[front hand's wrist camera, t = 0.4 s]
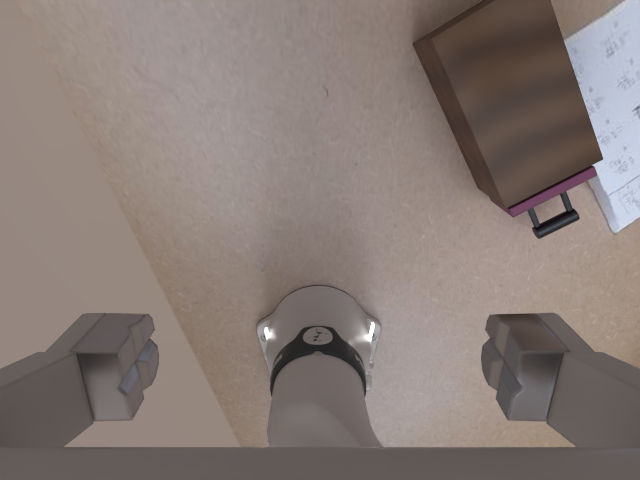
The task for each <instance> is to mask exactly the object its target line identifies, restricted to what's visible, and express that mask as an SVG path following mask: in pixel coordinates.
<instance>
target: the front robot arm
mask: <svg viewBox="0 0 640 480" xmlns="http://www.w3.org/2000/svg"><path fill="white" fill-rule="evenodd" d="M154 330H155V329H154V324H153V319H152V317H151V316H150V315H149V314H120V313H108V314H107V313H87V314H82V315H81V316H80V317H79V318H78V319H77V320H76V321H75V322H74V323H73V324H72V325H71V326H70V327H69V328H68V329H67V330H66V331H65V332H64V333H63V334H62V335H61V336H60V337H59V338H58V339H57V340H56V341H55V342H54V344H52V345H51V346H50V347H49V348H48V350H46V351H45V352H37V353H35V354H33V355H30V356H28V357H26V358H24V359H21V360H19V361H17V362H15V363H12V364H10V365H8V366H6V367H3V368H1V369H0V480H640V369H639V368H637V367H634V366H632V365H630V364H628V363H625V362H623V361H621V360H619V359H616V358H614V357H612V356H610V355H607V354H605V353H603V352H595V351H594V350H593V349H592V348H591V347H590V346H589V345H588V344H587V343H586V342H585V341H584V340H583V339H582V338H581V337H580V336H579V335H578V334H577V333H576V332H575V331H574V330H573V329H572V328H571V327H570V326H569V325H568V324H567V323H566V322H565V321H564V320H563V319H562V318H561V317H560V316H559V315H557V314H555V313H534V314H495V315H489V318H488V320H487V323H486V329H485V330H486V332H487V333H488V335H489V337H490V339H489V340H488V341H487V342H486V343H485V344H484V345H483V347H482V355H481V362H482V370H483V374H484V377H485V379H486V381H487V383H488V385H489V386H491V387H492V388H494V389H495V390H497V395H496V400H497V402H498V403H499V405H500V407H501V409H502V411H503V412H504V414H505V416H506V418H507V420H516V421H547V422H546V423H547V424H548V425H550V426H551V427H552V428H553V429H555V430H556V431H557V432H558V433H560V434H561V435H562V436H564V437H565V438H566V439H567V440H569V441H570V442H571V443H572V444H574V445H575V446H576V447H383V446H382V444H381V443H380V442H379V440H378V439H377V437H376V436H375V434H374V432H373V430H372V427H371V424H370V420H369V416H368V412H367V408H366V402H365V395H366V391H370V389H371V384H372V377H371V376H370V375H368V374H369V372H372V371H373V362H372V360H373V356H374V353H375V349H376V346H377V342H378V339H379V335H380V331H381V325H380V323H379V321H377V320H376V319H375V318H373V317H371V316H370V315H368V314H366V313H365V312H364V311H363V310H362V308H361V307H360V306H359V304H358V303H357V302H356V301H355V300H354V299H353V298H352V297H351V296H349V295H348V294H346V293H345V292H343V291H341V290H338V289H335V288H332V287H327V286H310V287H305V288H302V289H299V290H297V291H295V292H293V293H291V294H289V295H288V296H287V297H285V298H284V299H283V300H282V301H281V302H280V304H279V305H278V306H277V308H276V309H275V311H274V312H273V313H272V314H271V315H269V316H267V317H266V318H264V319H263V320H261V321H260V322H259V323H258V325H257V334H258V337H259V340H260V344H261V347H262V350H263V353H264V359H265V360H266V363H267V366H268V369H269V373H270V382H271V385H270V391H271V396H272V400H271V407H270V414H269V421H268V428H267V437H268V443H269V446H270V447H64V446H65V445H66V444H68V443H69V442H70V441H72V440H73V439H74V438H75V437H77V436H78V435H79V434H80V433H82V432H83V431H84V430H86V429H87V428H88V427H89V426H91V425H92V424H93V421H123V420H133V418H134V416H135V414H136V413H137V411H138V409H139V407H140V405H141V403H142V402H143V400H144V395H143V390H145V389H146V388H148V387H149V386H151V385H152V383H153V381H154V379H155V377H156V373H157V369H158V364H159V354H158V347H157V345H156V344H155V343H154V342H153V341H152V340H151V339H150V337H151V335H152V333H153V332H154ZM265 335H266V336H265Z"/></svg>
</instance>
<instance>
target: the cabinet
mask: <svg viewBox="0 0 640 480" xmlns="http://www.w3.org/2000/svg"><path fill="white" fill-rule="evenodd" d="M413 46H414V48H415V50H416V53H417V55H418V57H419V59H420V61H421V64H422V66H423V68H424V70H425V72H426V75H427V77H428V79H429V81H430V83H431V86H432V88H433V90H434V92H435V94H436V97H437V99H438V101H439V103H440V105H441V108H442V110H443V112H444V114H445V116H446V119H447V121H448V123H449V125H450V127H451V130H452V132H453V134H454V136H455V138H456V141H457V143H458V145H459V147H460V149H461V152H462V154H463V156H464V158H465V160H466V163H467V165H468V167H469V169H470V171H471V174H472V176H473V178H474V180H475V182H476V185H477V187H478V189H480V190H481V191H483V192H484V193H485V194H487V195H488V196H489V197H491V198H492V199H493V200H495V201H496V202H497V203H499V204H500V205H501V206H503V207H504V208H505V209H506V208H508V207H510V206H512V205H514V204H516V203H518V202H520V201H522V200H524V199H526V198H528V197H530V196H532V195H534V194H536V193H538V192H540V191H542V190H544V189H546V188H547V187H549V186H551V185H553V184H555V183H557V182H559V181H561V180H563V179H565V178H567V177H569V176H571V175H573V174H575V173H577V172H579V171H581V170H583V169H585V168H587V167H589V166H591V165H593V164H595V163H597V162H599V161H601V160H603V157H602V154H601V151H600V148H599V145H598V142H597V139H596V136H595V133H594V130H593V127H592V124H591V121H590V118H589V115H588V112H587V109H586V106H585V103H584V100H583V97H582V94H581V91H580V88H579V85H578V82H577V79H576V76H575V73H574V70H573V67H572V64H571V61H570V58H569V55H568V52H567V49H566V47H565V44H564V41H563V38H562V35H561V32H560V29H559V26H558V23H557V20H556V17H555V14H554V11H553V8H552V5H551V2H550V0H483V1H482V2H480V3H479V4H477V5H475V6H474V7H472V8H470V9H469V10H467V11H465V12H464V13H462V14H460V15H459V16H457V17H456V18H454V19H452V20H451V21H449V22H447V23H446V24H444V25H442V26H441V27H439V28H437V29H436V30H434V31H433V32H431V33H429V34H428V35H426V36H424V37H423V38H421V39H419V40H418V41H416V42H414V43H413Z"/></svg>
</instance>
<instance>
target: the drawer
mask: <svg viewBox="0 0 640 480" xmlns="http://www.w3.org/2000/svg"><path fill="white" fill-rule="evenodd" d="M595 176H597V173H596V170H595V167H594V166H589V167H587V168H585V169H583V170H581V171H579V172H577V173H575V174H573V175H571V176H569V177H567V178H565V179H563V180H561V181H559V182H557V183H555V184H553V185H551V186H549V187H547V188H546V189H544V190H542V191H540V192H538V193H536V194H534V195H532V196H530V197H528V198H526V199H524V200H522V201H520V202H518V203H516V204H514V205H512V206H510V207H508V208H506V209H505V208H504V207H503V206H501V205H500V204H499V203H497V202H496V201H495V200H493V199H492V198H491V197H490V200H491V201H492V202H494V203H495V204H496V205H497V206H499V207H500V208H501V209H503V210H504V211H505V212H507V213H508V214H509V215H511V216H512V217H515V216H517V215H519V214H521V213H523V212H525V211H528V213H529V216H530V218H531V220H532V223H533V225H534V227H533V228H532V230H533V232H534V234H535V236H536V237H537V238H538V239H540V238H542V237H544V236H546V235H548V234H550V233H552V232H554V231H557V230H559V229H561V228H563V227H565V226H567V225H569V224H571V223H573V222H575V221H577V220H579V215H578V213H577V211H576V210H575V209H573V208H572V206H571V203H570V200H569V198H568V195H567V193H566V191H567V190H569V189H571V188H573V187H575V186H577V185H579V184H581V183H583V182H585V181H587V180H589V179H591V178H593V177H595ZM559 194H560V196H561V198H562V201H563V204H564V206H565V209H566V211H565V212H563V213H561V214H559V215H557V216H555V217H553V218H551V219H549V220H547V221H545V222H543V223H541V224H540V223H539V221H538V219H537V216H536V214H535V211H534V209H533V207H535V206H537V205H539V204H541V203H543V202H545V201H547V200H549V199H551V198H553V197H555V196H557V195H559Z"/></svg>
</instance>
